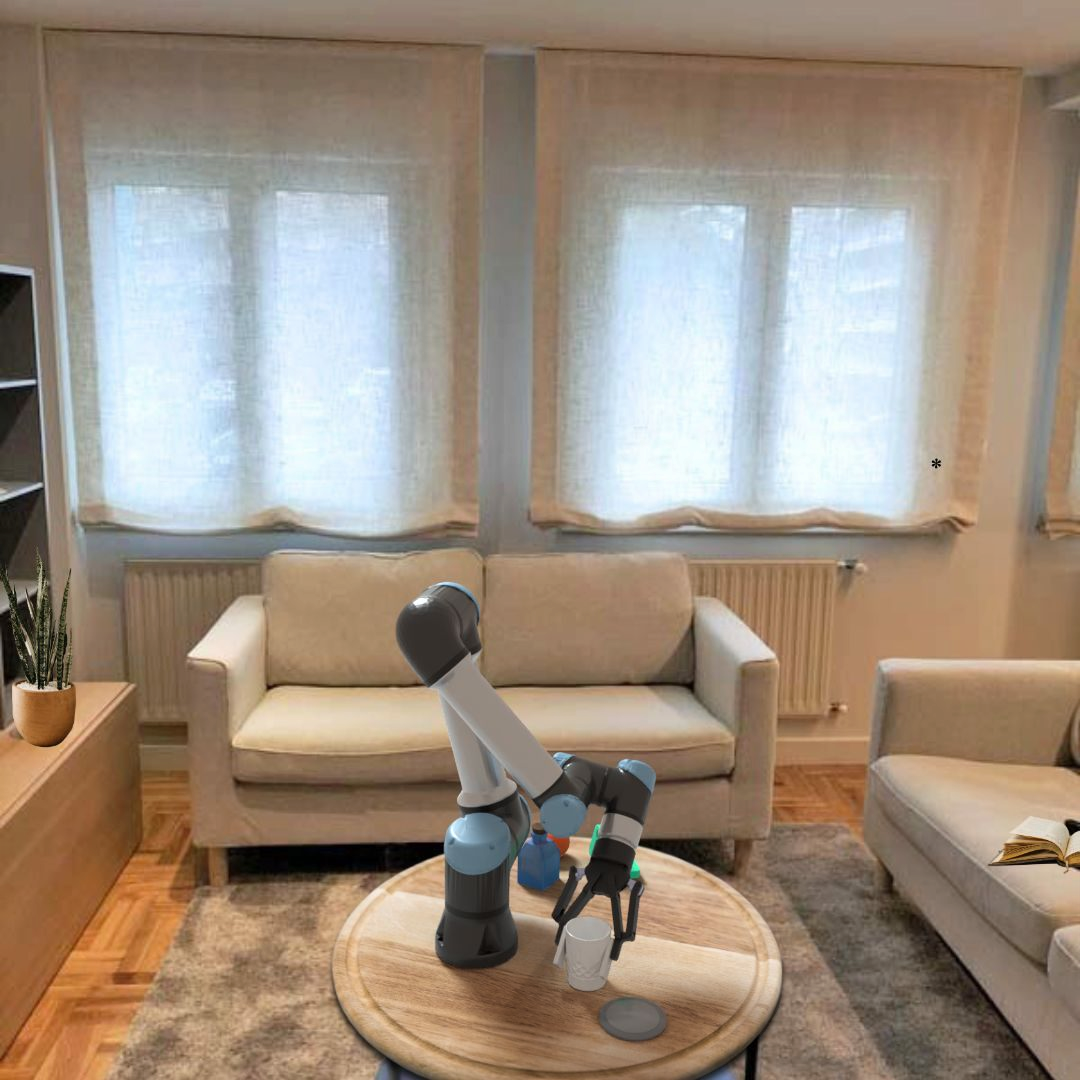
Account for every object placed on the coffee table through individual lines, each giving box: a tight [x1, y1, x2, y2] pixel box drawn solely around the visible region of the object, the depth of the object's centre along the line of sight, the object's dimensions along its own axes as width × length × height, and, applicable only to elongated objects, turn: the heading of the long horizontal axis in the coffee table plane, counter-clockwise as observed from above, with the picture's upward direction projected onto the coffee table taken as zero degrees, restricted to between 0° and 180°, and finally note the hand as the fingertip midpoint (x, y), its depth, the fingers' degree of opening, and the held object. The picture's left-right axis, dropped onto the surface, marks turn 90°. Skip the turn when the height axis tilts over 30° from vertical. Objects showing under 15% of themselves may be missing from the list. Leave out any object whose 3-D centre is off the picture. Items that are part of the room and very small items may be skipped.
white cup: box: [565, 915, 612, 992], centre depth 196 cm, size 8×8×10 cm
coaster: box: [598, 996, 667, 1042], centre depth 186 cm, size 11×11×1 cm
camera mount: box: [588, 823, 641, 879], centre depth 235 cm, size 12×8×10 cm, turn 13°
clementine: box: [547, 833, 571, 858], centre depth 241 cm, size 8×7×7 cm
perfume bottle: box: [516, 821, 561, 892], centre depth 230 cm, size 6×6×12 cm
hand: (579, 971), depth 193 cm, fingers closed on white cup, 8 cm apart
